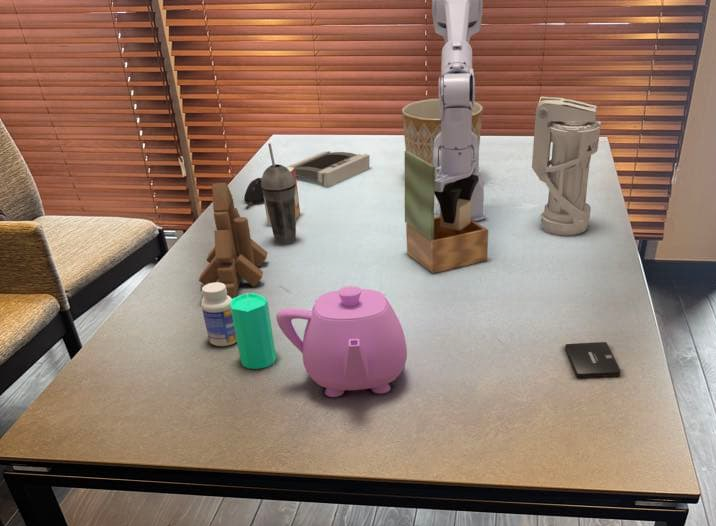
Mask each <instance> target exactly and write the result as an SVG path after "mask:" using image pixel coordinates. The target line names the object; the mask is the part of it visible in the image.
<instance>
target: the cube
mask: <svg viewBox="0 0 716 526" xmlns="http://www.w3.org/2000/svg"><path fill="white" fill-rule="evenodd" d="M439 213H440V227H444V228H449V229H454V230H459V231H460V230H461V229H463V228H464V227H466V226H467V225H469V224H470V223H471V201H469V200H464V199H458V201H457V206H456V216H455V221H454V223H453V224H451V223H446V222H444V220H443V216H442V212H441V208H440V207H439Z"/></svg>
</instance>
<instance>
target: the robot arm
mask: <svg viewBox="0 0 716 526" xmlns="http://www.w3.org/2000/svg"><path fill="white" fill-rule="evenodd" d="M431 4H432V5H431V12H432V13H431V15H432V21H433V28H434V33H435V34H437V35H439V36H441V37H442V38H443V41H444V45H443V47H442V48H441V49H442V50H441V62H440V63H441V65H440V66H441V67H440V68H441V70H440V76H439V77H438V98H439V107H440V120H441V121H442V122H441V132H440V133H439V134H438V135H437V136H436V137H435V140H434V149H433V166H435V176H436V178H435V196H434V197H435V199H436V200H437V203H438V205H439V209H440V208H441V212H442V216H443V220H444V222H446V223H451V224H453V223H454V221H455V216H456V206H457V201H458V199H464V200H469V201H471V219H472V220H474V221H475V222H478V221H483V220H485V219H486V218H485V216H484V195H485V190H484V189H485V187H484V182H483V180H482V178H481V176H480V175H479V171H480V169H479V167H480V166H479V165H480V164H479V163H480V146H479V147H478V138H477V135H476V134H474V133H473V132H472V131H471V127H472V109H471V107H470V105H469V102H470V101H471V103H472V108H473V106H474V102H475V100H476V99H475V95H476V93H475V92H476V80H475V74H474V68H473V49H472V46H471V44H470V40H471V37H472V36H474V35H475V34H478V33H479V32H480V29H481V26H482V17H483V10H484V9H483V8H484V6H483V5H484V0H431ZM471 144H472V145H471ZM473 148H474V150H473ZM438 172H439V173H438ZM439 216H440V212H436V213H434V217H439Z"/></svg>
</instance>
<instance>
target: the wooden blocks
mask: <svg viewBox="0 0 716 526" xmlns="http://www.w3.org/2000/svg"><path fill="white" fill-rule="evenodd" d="M211 186H212V187H211V188H212V210H213V217H214V223H215V228H216V229H215V230H214V246H213V248H212V249H211V250H210V251H209V253H208V255H207V257H206V262H207V263H208V264H207V266H206V267H205V269H203V271H202V272H201V274H200V275H199V278H198V282H200V283H202V284H203V286H205V285H206V284H209V283H214V282H218V281H219V283H223V284H225V286H226V290H227V295H228V296H230V297H231V298H232V299H233V298H235V297H237V295H238V291H239V287H240V284H241V280H242V279H243V280H244V281H245V282H247V283H248V284H249V285H251V286H252V287H256V286H257V285H258V283H260V281H261V280H262V279H263V275H264V271H263V270H261V269H260V268H259V267H261V266H262V264H263V263H264V262H265V261H266V259H267V258H268V251H267V250H266V249H264V247H262V246H261V245H259V244H258V243H257V242H256V241H254V240H253V239H252V238H251V232H250V231H251V230H250V225H249V219H248V218H247V217H246V216H241V215H240V212H239V211H238V209H237V207H235V202H234V199H233V194H232V193H231V190H230V188H229V185H228V183H227V182H218V183H217V182H214V183H212V185H211ZM203 299H204V296H203V297H202V300H201V302H202V301H203Z"/></svg>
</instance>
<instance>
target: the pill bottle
mask: <svg viewBox="0 0 716 526" xmlns="http://www.w3.org/2000/svg"><path fill="white" fill-rule="evenodd" d="M201 292H202V296H203V297H204V299H203V298H202V300H203V301H202V300H201V303H200V304H201V305H200V307H201V311H202V315H203V320H204V323H205V328H206V334H207V338H208V341H209V343H210V344H212V345H213V346H215V347H228V346H231V345H234V344H236V343H237V338H236V333H235V328H234V323H233V317H232V312H231V307H230V302H231V300H232V298H231V297H230V296H228V295H227V290H226V286H225V284H223V283H220V282H218V281H217V282H214V283H209V284H206V285H203V286H202V287H201Z"/></svg>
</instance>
